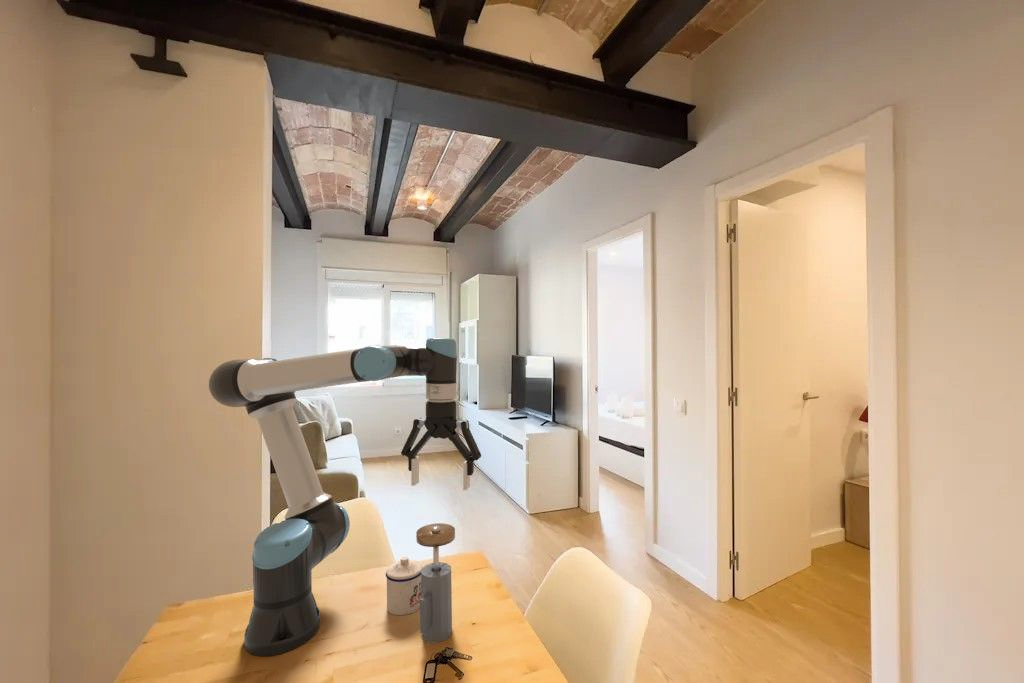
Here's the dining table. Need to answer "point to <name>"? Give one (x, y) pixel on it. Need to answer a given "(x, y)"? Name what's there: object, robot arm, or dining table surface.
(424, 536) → the plunger
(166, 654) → the dining table surface
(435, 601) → the cylinder
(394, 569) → the teacup with lid
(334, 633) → the dining table surface
